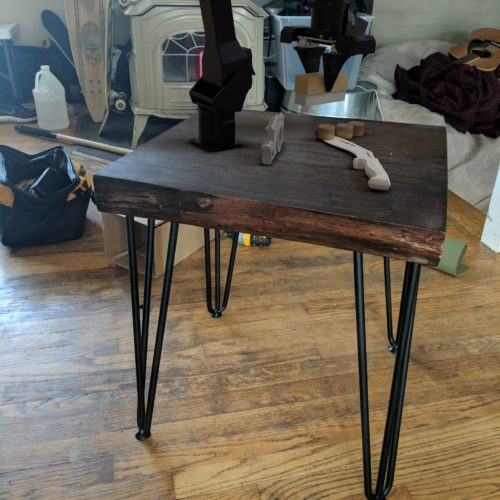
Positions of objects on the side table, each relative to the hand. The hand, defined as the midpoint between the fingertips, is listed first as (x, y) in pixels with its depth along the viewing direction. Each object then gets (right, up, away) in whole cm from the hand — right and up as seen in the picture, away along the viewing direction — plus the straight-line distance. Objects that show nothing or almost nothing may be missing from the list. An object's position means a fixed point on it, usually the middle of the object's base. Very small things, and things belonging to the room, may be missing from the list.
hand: (320, 89), depth 94 cm
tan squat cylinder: (0, -9, -3) cm, 10 cm away
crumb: (+7, -8, +1) cm, 10 cm away
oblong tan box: (0, -2, +1) cm, 2 cm away
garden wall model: (-9, -14, -11) cm, 20 cm away
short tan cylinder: (+4, -9, -1) cm, 10 cm away
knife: (+3, -15, -11) cm, 19 cm away
